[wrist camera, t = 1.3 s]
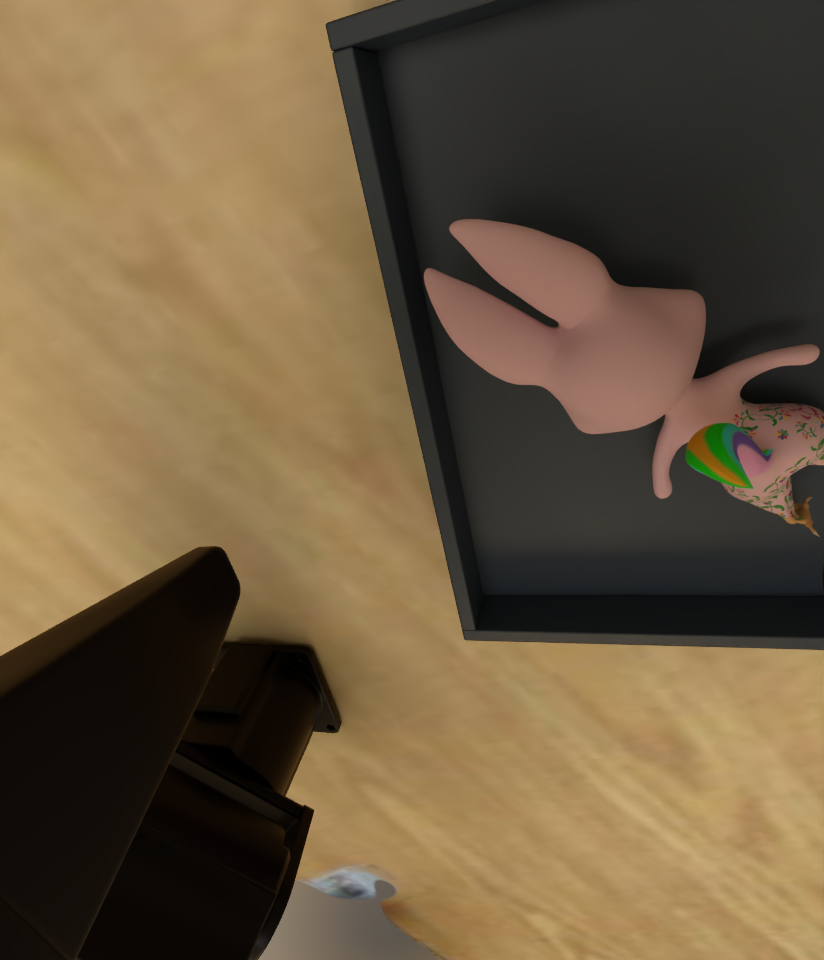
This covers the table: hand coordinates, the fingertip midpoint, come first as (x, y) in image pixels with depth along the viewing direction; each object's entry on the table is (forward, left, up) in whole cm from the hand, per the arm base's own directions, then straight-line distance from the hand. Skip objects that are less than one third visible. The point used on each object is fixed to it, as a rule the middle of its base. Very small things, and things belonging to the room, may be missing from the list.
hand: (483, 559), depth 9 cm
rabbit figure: (-2, -3, -13) cm, 14 cm away
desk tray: (-2, -3, -13) cm, 14 cm away
